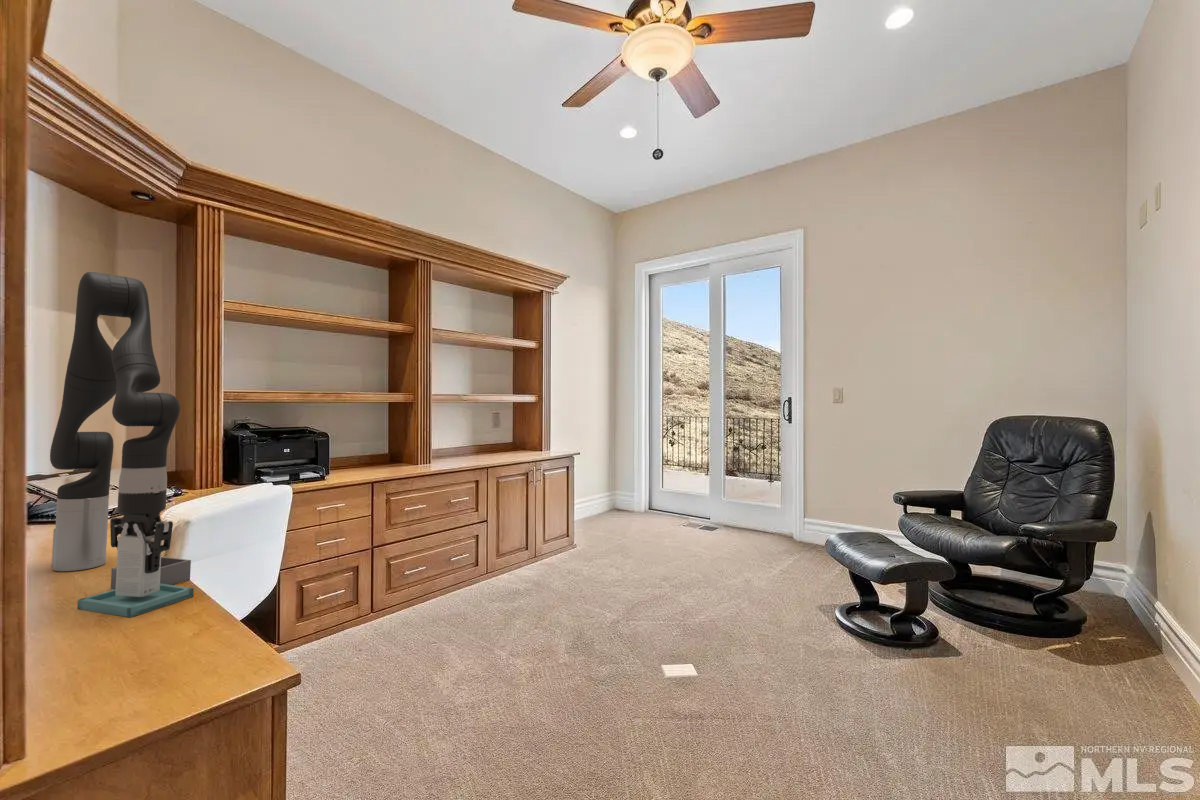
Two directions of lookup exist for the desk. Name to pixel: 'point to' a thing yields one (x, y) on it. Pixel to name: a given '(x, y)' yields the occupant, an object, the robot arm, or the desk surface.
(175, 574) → the holder
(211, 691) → the desk surface
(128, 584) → the skincare box
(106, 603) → the tray
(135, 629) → the desk surface
